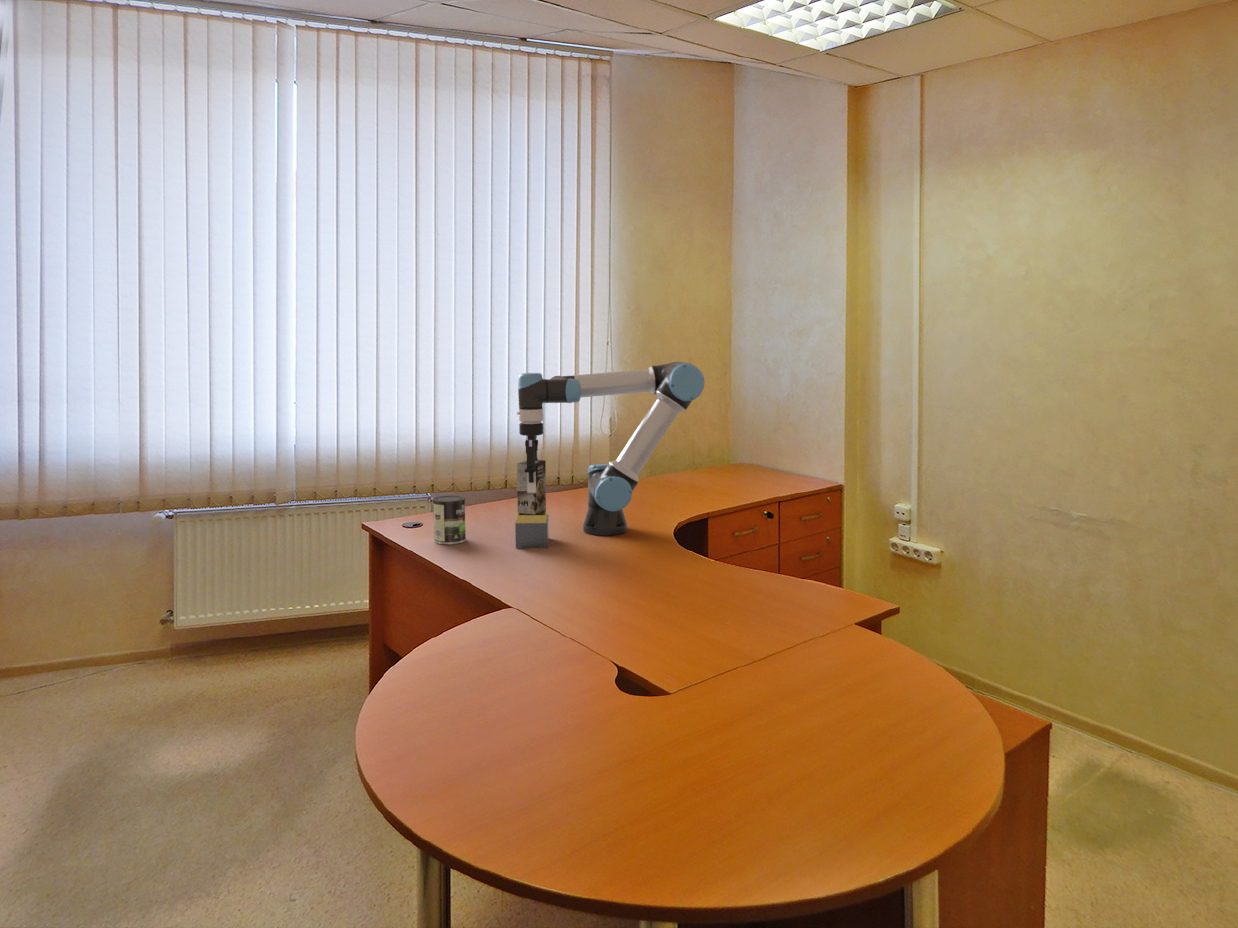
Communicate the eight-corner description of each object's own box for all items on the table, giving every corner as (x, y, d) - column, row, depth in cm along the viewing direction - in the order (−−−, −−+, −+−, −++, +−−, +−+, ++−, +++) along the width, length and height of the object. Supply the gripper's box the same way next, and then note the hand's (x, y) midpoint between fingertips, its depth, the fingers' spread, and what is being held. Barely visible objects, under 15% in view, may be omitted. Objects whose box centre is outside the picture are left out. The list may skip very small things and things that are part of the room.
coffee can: (470, 537, 279) (469, 495, 277) (458, 545, 269) (457, 502, 267) (441, 536, 281) (440, 494, 279) (428, 543, 271) (427, 500, 269)
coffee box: (535, 514, 266) (534, 464, 263) (516, 513, 268) (515, 463, 265) (546, 509, 274) (546, 459, 272) (528, 507, 276) (528, 458, 274)
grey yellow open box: (548, 538, 279) (548, 506, 277) (547, 547, 267) (547, 515, 265) (518, 538, 278) (517, 507, 277) (515, 548, 266) (515, 515, 265)
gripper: (521, 418, 278) (523, 481, 282) (516, 427, 254) (518, 496, 257) (544, 417, 279) (545, 481, 282) (541, 426, 254) (543, 495, 258)
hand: (532, 488), depth 270 cm, fingers open, 13 cm apart
